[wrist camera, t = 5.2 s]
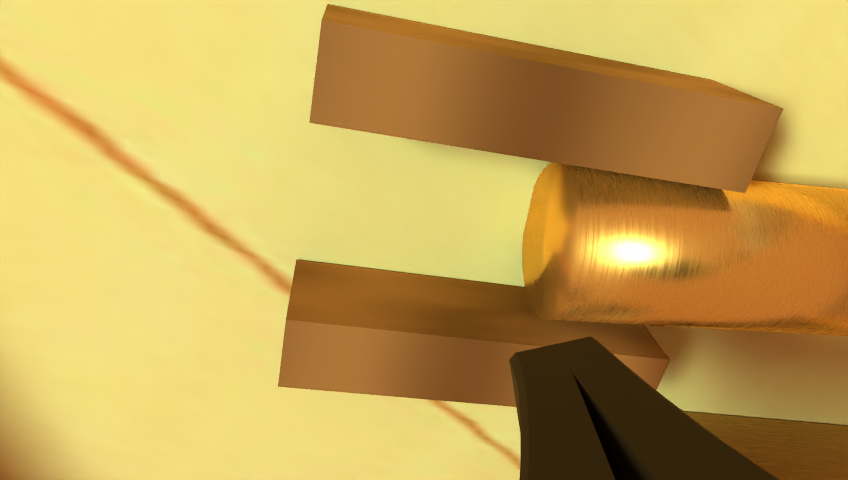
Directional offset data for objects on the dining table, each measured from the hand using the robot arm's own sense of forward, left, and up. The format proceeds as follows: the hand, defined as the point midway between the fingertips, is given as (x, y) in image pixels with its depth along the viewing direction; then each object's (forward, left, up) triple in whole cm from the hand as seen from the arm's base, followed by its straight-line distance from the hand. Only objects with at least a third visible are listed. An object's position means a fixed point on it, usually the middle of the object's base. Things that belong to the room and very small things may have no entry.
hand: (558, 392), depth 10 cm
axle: (-7, 0, -6) cm, 9 cm away
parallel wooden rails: (0, 0, -8) cm, 8 cm away
